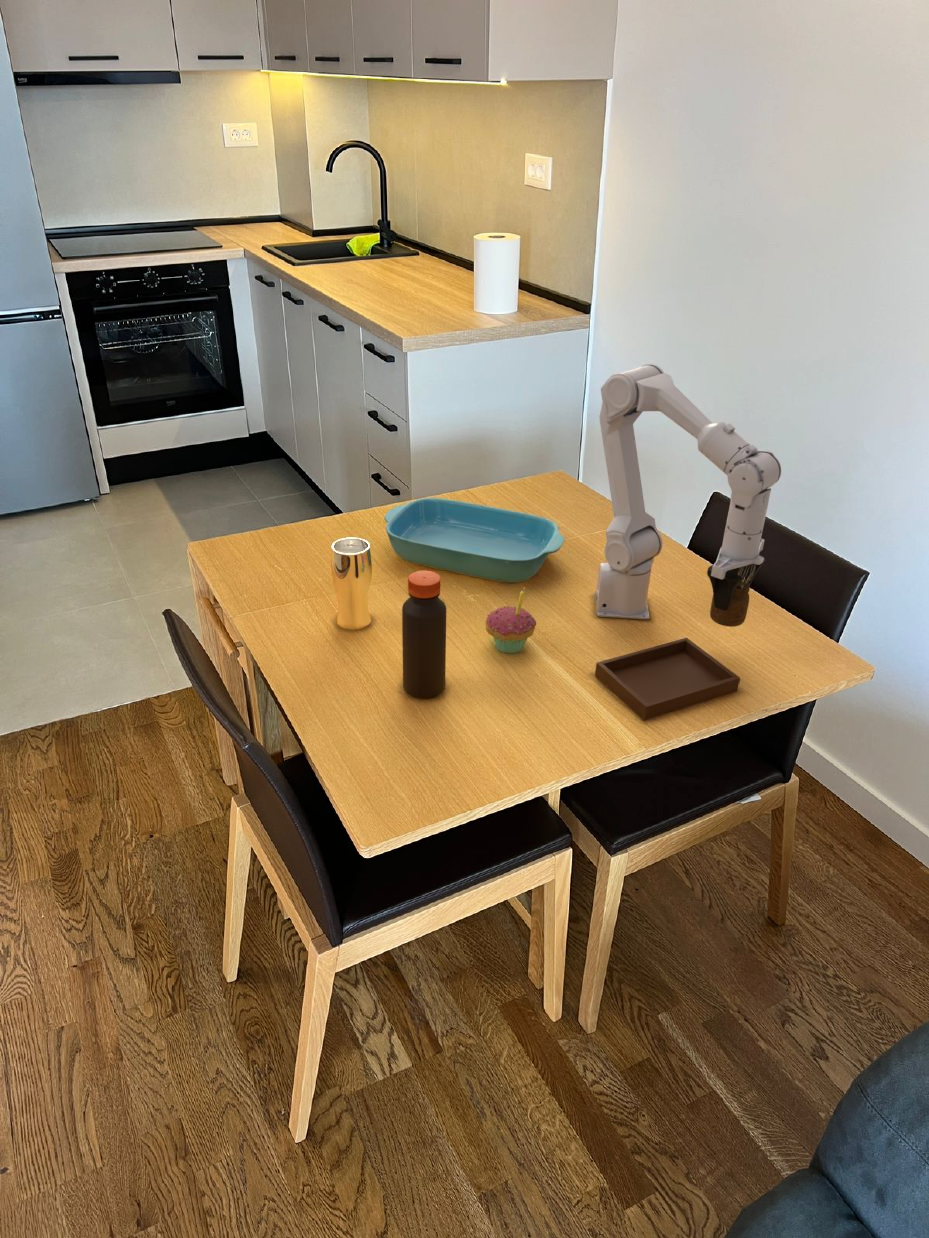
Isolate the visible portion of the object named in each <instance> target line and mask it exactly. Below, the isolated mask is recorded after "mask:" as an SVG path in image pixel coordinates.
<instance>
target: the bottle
mask: <svg viewBox="0 0 929 1238" xmlns="http://www.w3.org/2000/svg"><path fill="white" fill-rule="evenodd" d="M441 584H442V578H441V576H440V575H439V573H437V572H435V571H431V570H417V571H414V572H412V573H410V574H409V575H408V576H407V592H408V596H409V597H408V598H407V599H406V600H405V601H404V603H402V607H401V620H402V621H401V635H402V638H401V639H402V688H403V691H404V692H405V693H406V694H407V695H409V696H410V697H412V698H416V699H423V700H427V699H433V698H435V697H438V696H439V695H441V694H442V693H443V692H444V690H445V688H446V668H447V667H446V665H447V660H446V659H447V657H446V656H447V605H446V603H445V601H444V600H443V599H441V598H440V596H441V586H442V585H441Z"/></svg>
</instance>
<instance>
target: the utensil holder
mask: <svg viewBox="0 0 929 1238" xmlns="http://www.w3.org/2000/svg"><path fill="white" fill-rule="evenodd" d="M747 566H748V565H747ZM754 566H755V564H754ZM749 567H750V566H749ZM741 568H742V567H741ZM739 570H740V569H739ZM742 570H743V569H742ZM751 570H752V569H751ZM754 570H755V569H754ZM745 571H746V570H745ZM747 572H748V571H747ZM752 572H753V571H752ZM739 573H740V572H738V574H739ZM741 573H742V572H741ZM744 573H745V572H744ZM750 573H751V572H750ZM753 573H754V572H753ZM746 574H747V573H746ZM743 576H744V575H743ZM752 576H753V575H752ZM748 578H750V577H748ZM750 587H751V585H749V582H748V581H747V580H745V578H744V579H742V580H741V582H740V583H739V584H738V586H737V588H736V590H735V592H734V594H733V597H732V600H731V603H730V605H729V607H728V609H727V610H726V611H724V610H721V609H719V608H716V607H715V606H714V597H713V596H712V598H711V604H710V610H709V616H710V617H709V618H710V619H711V620H712V621H713V622H714V623H716V624H718V625H720V626H724V627H728V628H733V627H739V626H741V625H743V624H744V623H745V621H746V617H747V614H748V610H749V605H750V594H749V593H750V589H751V588H750Z"/></svg>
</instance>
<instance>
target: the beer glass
mask: <svg viewBox="0 0 929 1238" xmlns="http://www.w3.org/2000/svg"><path fill="white" fill-rule="evenodd" d="M330 548H331V555H330V556H331V557H330V567H331V568H330V569H331V578H332V583H333V588H334V591H335V593H336V595H335V596H336V600H337V615H336V624H337V625H338V626H339V627H340V628H342V629H345V630H349V631H356V630H362V629H364V628H366V627H368V626H369V625H370V624H371V622H372V617H371V612H370V609H369V597H370V591H371V584H372V578H373V577H372V576H373V565H372V564H373V563H372V562H373V561H372V554H371V553H372V552H371V543H370V542H369V541H367V540H366V539H363V538H359V537H344V538H340V539H338V540H335V541H334V542H333V543H332V544H331V547H330Z"/></svg>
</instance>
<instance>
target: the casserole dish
mask: <svg viewBox="0 0 929 1238" xmlns="http://www.w3.org/2000/svg"><path fill="white" fill-rule="evenodd" d="M384 521H385V522H386V525H385V531H386V534H387V537H388V540H389V543H390V546H391V547H392V549H393V551H394V552H395V554H396V555H397V556H398V557H400V558H401V559H403V560H404V561H406V562H409V563H411V564H415V565H418V566H421V567H426V568H430V569H436V570H440V571H445V572H449V573H454V574H460V575H463V576H468V577H473V578H477V579H478V578H479V579H483V580H487V581H494V582H500V583H507V584H521V583H524V582H526V581H527V580H529V579H532V578H534V576H535V575H536V574H537V573H538V572H539V570H540V569H541V568H542V566H543V565H544V563H545V561H546V560H547V558H548V556H549V555H550V554H553V553H557V552H559V551H560V549H561V548H562V547H563V545H564V543H565V537H564V535H563V534H562V533H561V532H560V526H559V525H558V524H557V523H556V522H555V521H553V520H551V519H549V518H546V517H543V516H539V515H537V514H530V513H526V512H521V511H516V510H511V509H505V508H499V507H494V506H489V505H484V504H483V505H482V504H478V503H473V502H466V501H460V500H455V499H448V498H442V497H424V498H419V499H415V500H412V501H410V502H407V503H403V504H401V505H397V506H394V507H393V508H391V509H390V510H388V511H387V512H386V514H385V515H384Z"/></svg>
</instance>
